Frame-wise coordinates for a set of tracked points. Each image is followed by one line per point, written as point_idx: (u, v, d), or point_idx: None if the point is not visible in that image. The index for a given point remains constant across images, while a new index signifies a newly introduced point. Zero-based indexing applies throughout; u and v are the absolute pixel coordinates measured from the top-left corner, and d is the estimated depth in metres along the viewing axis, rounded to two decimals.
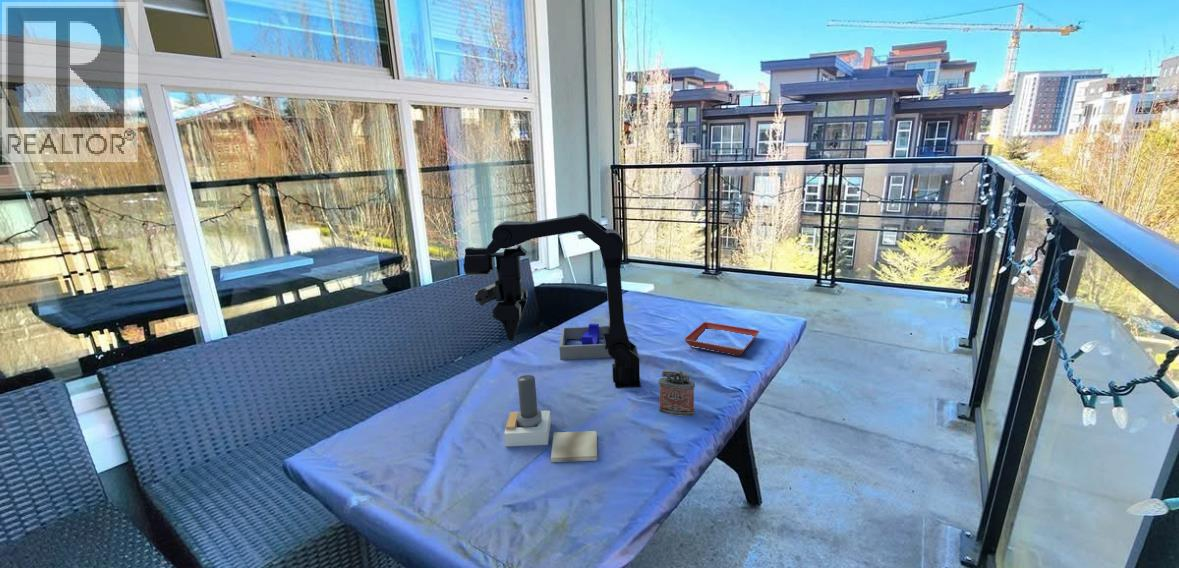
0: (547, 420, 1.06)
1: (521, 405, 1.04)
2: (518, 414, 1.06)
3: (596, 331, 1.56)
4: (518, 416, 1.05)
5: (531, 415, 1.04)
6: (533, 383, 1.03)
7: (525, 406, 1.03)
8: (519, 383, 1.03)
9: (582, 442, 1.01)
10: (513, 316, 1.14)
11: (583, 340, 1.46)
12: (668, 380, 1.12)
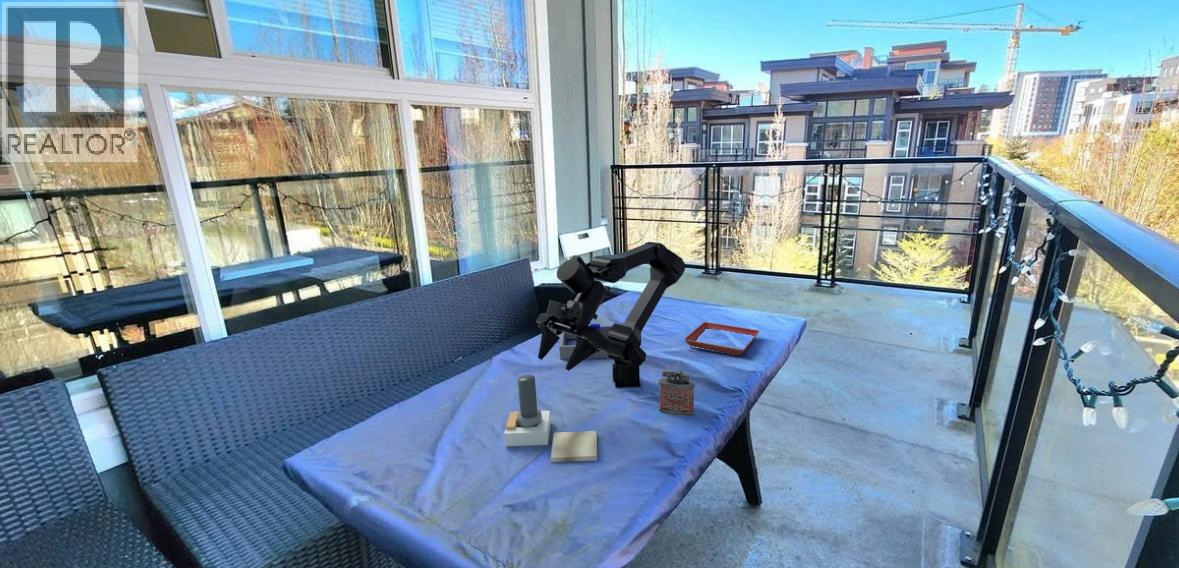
0: (547, 420, 1.06)
1: (521, 405, 1.04)
2: (518, 414, 1.06)
3: None
4: (518, 416, 1.05)
5: (531, 415, 1.04)
6: (533, 383, 1.03)
7: (525, 406, 1.03)
8: (519, 383, 1.03)
9: (582, 442, 1.01)
10: (603, 347, 1.06)
11: None
12: (668, 380, 1.12)
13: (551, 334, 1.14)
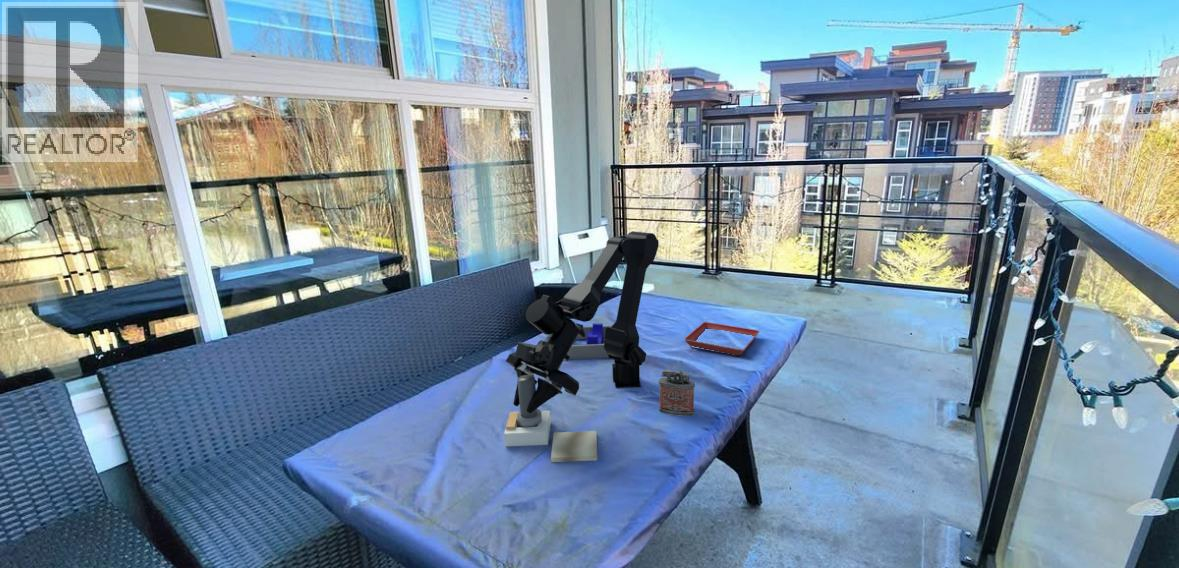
0: (547, 420, 1.06)
1: (521, 405, 1.04)
2: (518, 414, 1.06)
3: (600, 331, 1.56)
4: (518, 416, 1.05)
5: (531, 415, 1.04)
6: (533, 383, 1.03)
7: (525, 406, 1.03)
8: (519, 383, 1.03)
9: (582, 442, 1.01)
10: (574, 392, 1.01)
11: (589, 340, 1.46)
12: (668, 380, 1.12)
13: None
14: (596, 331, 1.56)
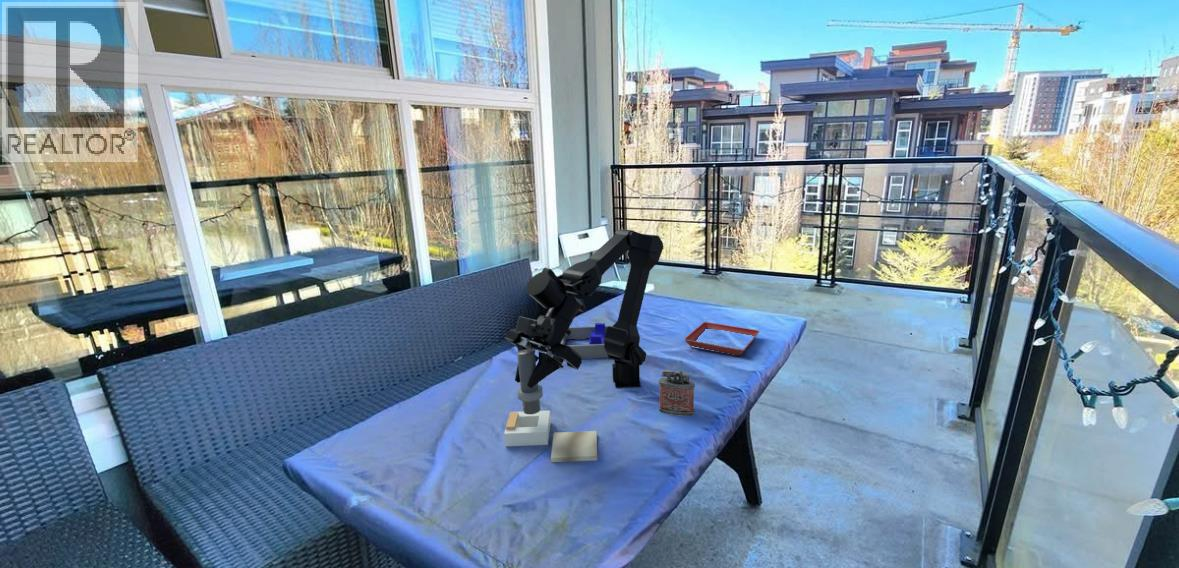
0: (547, 420, 1.06)
1: (521, 380, 1.02)
2: (518, 390, 1.04)
3: (603, 330, 1.56)
4: (519, 391, 1.03)
5: (532, 390, 1.02)
6: (533, 356, 1.01)
7: (525, 380, 1.01)
8: (519, 357, 1.01)
9: (582, 442, 1.01)
10: (576, 366, 1.00)
11: (592, 340, 1.46)
12: (668, 380, 1.12)
13: None
14: (599, 331, 1.56)
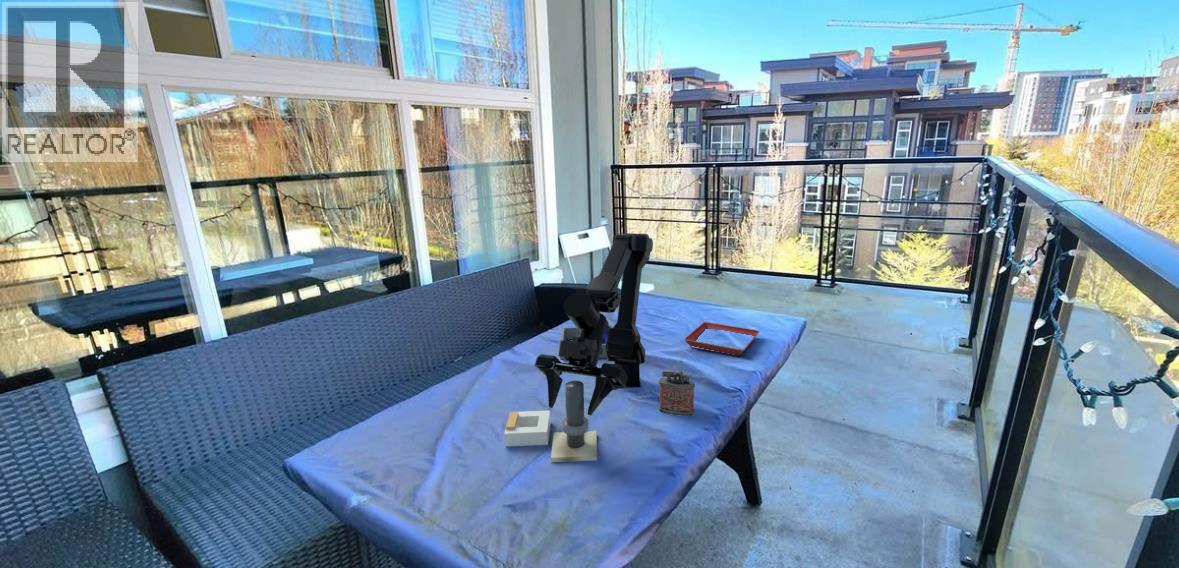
0: (547, 420, 1.06)
1: (571, 413, 0.97)
2: (564, 424, 0.99)
3: (606, 330, 1.56)
4: (566, 426, 0.98)
5: (581, 422, 0.98)
6: (583, 388, 0.97)
7: (576, 414, 0.97)
8: (570, 390, 0.96)
9: None
10: (625, 384, 0.99)
11: None
12: (668, 380, 1.12)
13: (557, 377, 1.02)
14: None
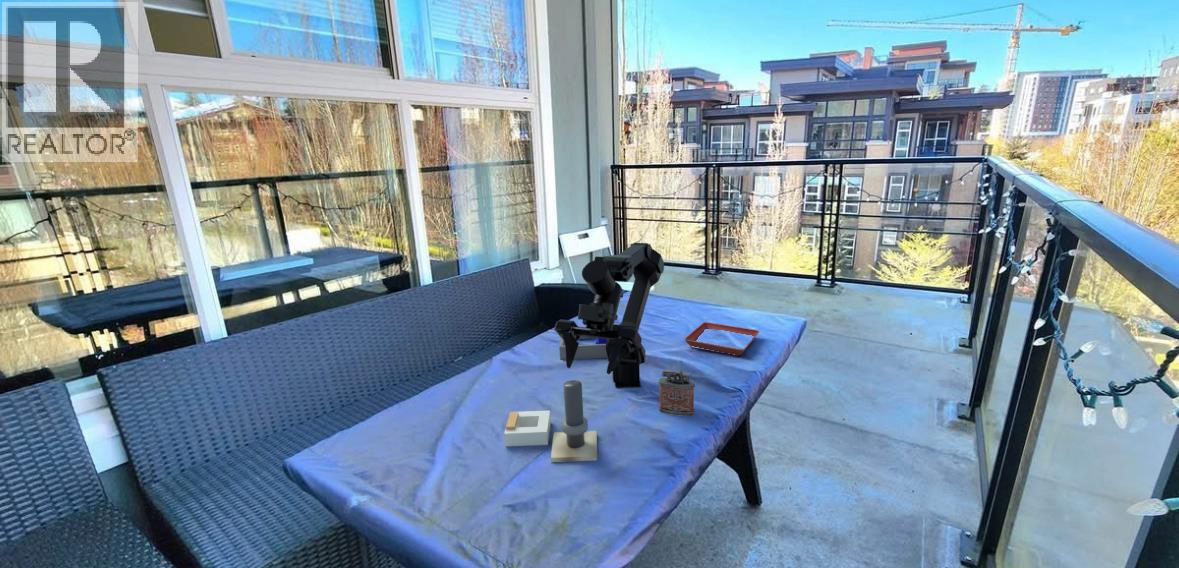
0: (547, 420, 1.06)
1: (570, 413, 0.98)
2: (564, 424, 0.99)
3: None
4: (565, 426, 0.98)
5: (580, 422, 0.99)
6: (581, 388, 0.98)
7: (575, 413, 0.97)
8: (568, 390, 0.96)
9: None
10: (639, 346, 1.06)
11: (600, 339, 1.47)
12: (668, 380, 1.12)
13: (573, 340, 1.10)
14: None
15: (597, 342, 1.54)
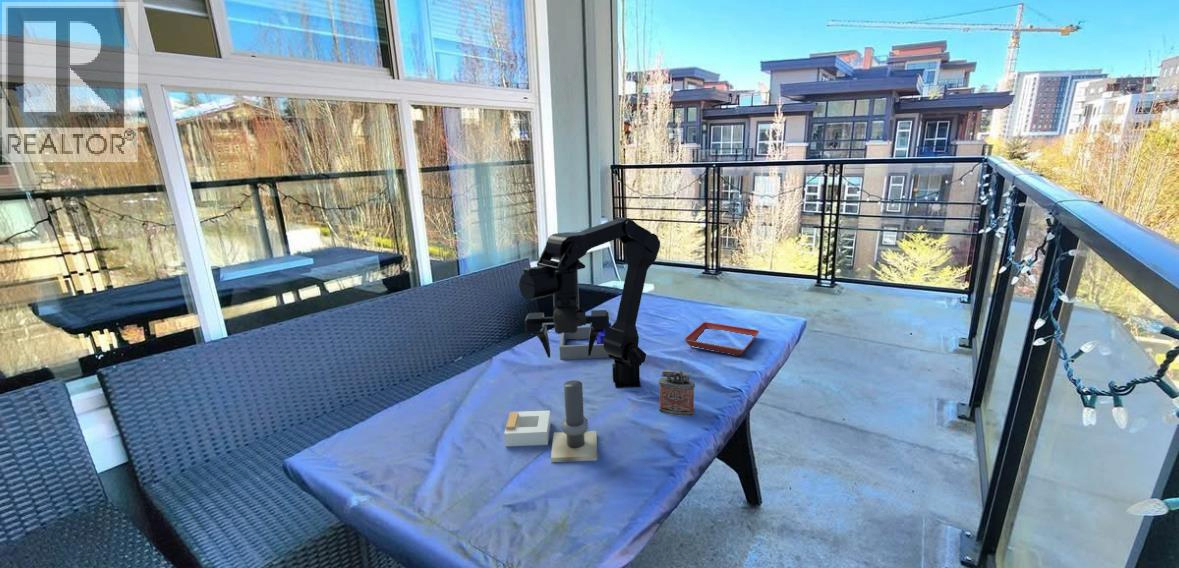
0: (547, 420, 1.06)
1: (570, 413, 0.98)
2: (564, 424, 0.99)
3: None
4: (565, 426, 0.98)
5: (580, 422, 0.98)
6: None
7: (575, 413, 0.97)
8: (569, 390, 0.96)
9: None
10: None
11: (602, 339, 1.47)
12: (668, 380, 1.12)
13: (545, 331, 1.13)
14: None
15: (598, 342, 1.54)
